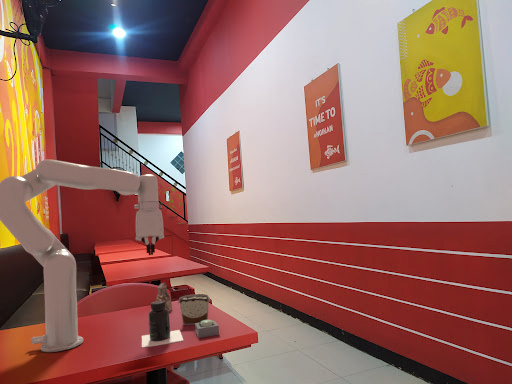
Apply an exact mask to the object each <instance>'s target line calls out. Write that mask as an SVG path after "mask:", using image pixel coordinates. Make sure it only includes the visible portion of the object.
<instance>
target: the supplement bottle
mask: <svg viewBox="0 0 512 384" xmlns="http://www.w3.org/2000/svg"><path fill="white" fill-rule="evenodd" d="M165 307H166V305H165V301H156V300H155V301H152V302H150V311H149V312H148V315H147V316H148V317H147V318H148V332H149V334H148V335H150V340H152V341H162V340H165V339H168V338H169V337H170V331H171V325H170V324H171V322H170V311H168V310H167V309H166V308H165Z"/></svg>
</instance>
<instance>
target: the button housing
mask: <svg viewBox="0 0 512 384" xmlns="http://www.w3.org/2000/svg"><path fill="white" fill-rule="evenodd" d="M194 327H195V331H194V332H195V334H196V336H197V338H198V339H200V338H201V339H202V338H207V337H212V336H218V335H220V329H219V328H220V325H219V324H218V323H217V322H216V320H215V319H214V320H212V326H206V327H201V322H200V323H195V324H194Z"/></svg>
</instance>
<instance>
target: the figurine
mask: <svg viewBox="0 0 512 384" xmlns="http://www.w3.org/2000/svg"><path fill="white" fill-rule="evenodd" d="M166 283H167V282H165V281H163V283H160V284H159V285H158V286H157V295H156V299H155V301H165V305H166V307H165V308H166V309H167V310H168V311H169V312H170V311H172V309H173V303H172V297H171V295H170V293H169V292H168V289H167V288H168V286H167V284H166Z"/></svg>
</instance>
